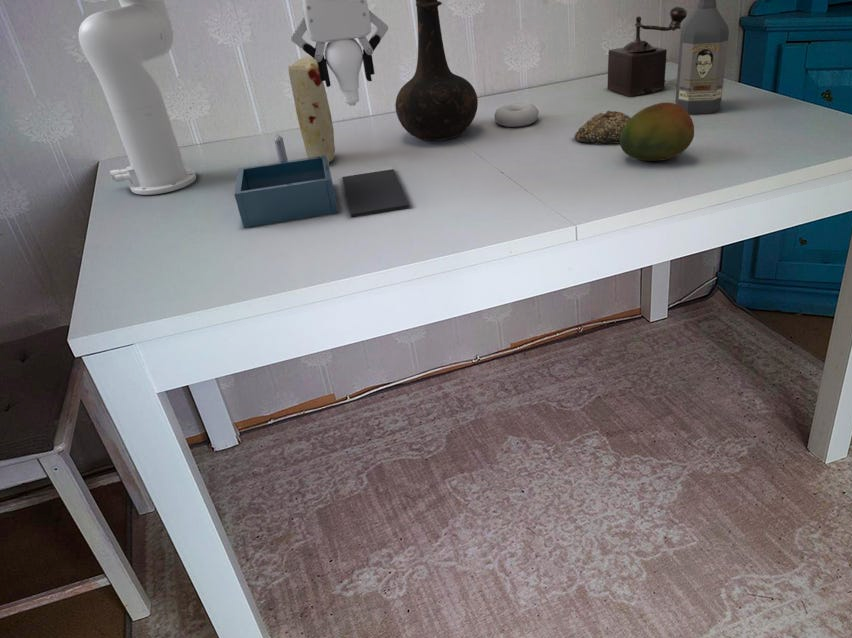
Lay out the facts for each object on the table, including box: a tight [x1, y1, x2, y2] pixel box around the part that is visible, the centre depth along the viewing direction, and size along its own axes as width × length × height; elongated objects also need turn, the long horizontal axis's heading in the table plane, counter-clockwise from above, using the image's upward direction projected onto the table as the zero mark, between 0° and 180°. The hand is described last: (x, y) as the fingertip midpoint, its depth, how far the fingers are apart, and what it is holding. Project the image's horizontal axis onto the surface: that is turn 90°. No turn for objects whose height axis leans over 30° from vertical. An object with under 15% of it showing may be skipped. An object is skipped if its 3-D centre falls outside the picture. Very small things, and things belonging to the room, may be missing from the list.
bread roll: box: [574, 110, 632, 144], centre depth 143 cm, size 13×12×5 cm
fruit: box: [619, 101, 695, 162], centre depth 127 cm, size 12×12×10 cm
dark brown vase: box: [394, 0, 479, 141], centre depth 146 cm, size 18×18×28 cm
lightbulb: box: [324, 38, 363, 107], centre depth 115 cm, size 6×6×11 cm
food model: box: [288, 55, 336, 163], centre depth 140 cm, size 10×7×20 cm
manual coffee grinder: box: [606, 6, 688, 98], centre depth 169 cm, size 16×11×18 cm
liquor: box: [674, 0, 730, 115], centre depth 147 cm, size 9×9×30 cm
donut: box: [494, 102, 539, 128], centre depth 157 cm, size 10×4×10 cm
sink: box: [233, 133, 339, 229], centre depth 123 cm, size 16×16×11 cm
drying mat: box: [341, 168, 410, 218], centre depth 127 cm, size 10×20×1 cm, turn 14°
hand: (348, 81), depth 116 cm, fingers closed on lightbulb, 6 cm apart
